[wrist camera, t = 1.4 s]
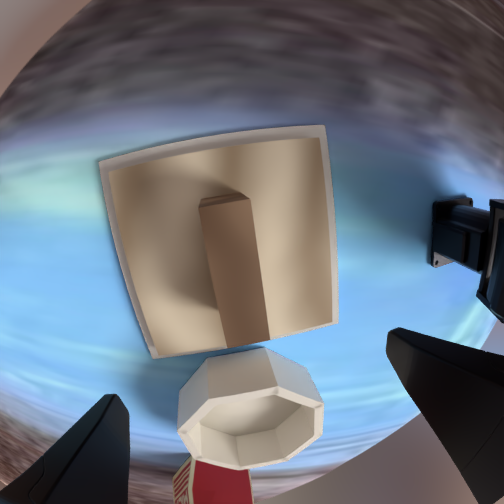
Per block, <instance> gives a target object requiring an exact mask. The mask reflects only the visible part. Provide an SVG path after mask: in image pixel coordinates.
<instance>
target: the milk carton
mask: <svg viewBox="0 0 504 504" xmlns="http://www.w3.org/2000/svg"><path fill="white" fill-rule="evenodd" d="M172 483H173V498H174V504H254V498H253V490H252V483H251V477H250V470H249V469H244V470H234V469H230V468H225V467H221V466H217V465H213V464H209V463H206V462H202V461H199V460H195V459H194V458H193V457H192V455H191V456H190V457H189V458H188V459H187V460H186V461H185V463H184V464H183V465H182V466H181V467H180V469H179V470H178V471H177V473H176V474H175V475H174V477H173V478H172Z"/></svg>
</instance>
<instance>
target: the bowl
mask: <svg viewBox="0 0 504 504" xmlns="http://www.w3.org/2000/svg"><path fill="white" fill-rule="evenodd" d="M323 413H324V402H323V400H322V398H321V396H320V394H319V392H318V390H317V388H316V386H315V384H314V382H313V380H312V378H311V376H310V374H309V372H308V370H307V368H306V367H304V366H302V365H300V364H298V363H296V362H294V361H292V360H290V359H288V358H286V357H284V356H282V355H279V354H277V353H275V352H273V351H272V350H270V349H268V348H266V347H263V348H258V349H253V350H248V351H243V352H238V353H232V354H227V355H221V356H215V357H209V358H207V359H206V360H205V361H204V362H203V363H202V365H201V366H200V367H199V368H198V369H197V371H196V372H195V373H194V374H193V375H192V377H191V378H190V379H189V380H188V381H187V383H186V384H185V385H184V386H183V387H182V388H181V390H180V391H179V403H178V419H177V432H178V434H179V435H180V437H181V439H182V440H183V442H184V444H185V445H186V447H187V449H188V450H189V452H190V453H191V455H192V457H193V458H194V459H195V460H199V461H202V462H206V463H209V464H213V465H217V466H221V467H225V468H230V469H234V470H244V469H250V468H256V467H261V466H267V465H272V464H276V463H281V462H285V461H288V460H289V459H291V458H292V457H294V456H295V455H296V454H298V453H299V452H301V451H302V450H303V449H305V448H306V447H307V446H309V445H310V444H311V443H313V442H314V441H315V440H316V439H318V438H319V437H320V436H321V435H322V431H323Z"/></svg>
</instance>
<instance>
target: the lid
mask: <svg viewBox="0 0 504 504" xmlns="http://www.w3.org/2000/svg"><path fill="white" fill-rule="evenodd" d="M108 173H109V180H110V185H111V191H112V196H113V202H114V207H115V211H116V216H117V221H118V225H119V230H120V234H121V238H122V242H123V246H124V250H125V254H126V258H127V262H128V265H129V269H130V272H131V276H132V279H133V283H134V286H135V289H136V293H137V296H138V299H139V302H140V305H141V308H142V311H143V314H144V317H145V320H146V323H147V326H148V328H149V331H150V334H151V337H152V339H153V342H154V345H155V347H156V350H157V352H158V355H159V356H160V355H168V354H176V353H183V352H190V351H197V350H203V349H210V348H216V347H221V346H227V348H232V347H237V346H243V345H248V344H253V343H258V342H263V341H267V340H270V337H273V336H277V335H282V334H286V333H291V332H295V331H299V330H303V329H307V328H311V327H315V326H319V325H323V324H327V323H330V322H332V276H331V254H330V237H329V222H328V210H327V199H326V189H325V179H324V170H323V162H322V154H321V146H320V139H319V137H318V138H302V139H289V140H278V141H268V142H259V143H251V144H243V145H236V146H229V147H222V148H216V149H210V150H204V151H198V152H193V153H188V154H182V155H177V156H172V157H168V158H163V159H158V160H154V161H150V162H145V163H141V164H137V165H133V166H129V167H125V168H122V169H118V170H114V171H111V172H108Z"/></svg>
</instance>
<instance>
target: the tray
mask: <svg viewBox="0 0 504 504" xmlns="http://www.w3.org/2000/svg"><path fill="white" fill-rule="evenodd" d="M318 137H319V139H320V146H321V154H322V162H323V170H324V179H325V189H326V199H327V210H328V222H329V237H330V254H331V276H332V322H330V323H327V324H323V325H319V326H315V327H311V328H307V329H303V330H299V331H295V332H291V333H286V334H282V335H277V336H273V337H270V340H272V339H277V338H281V337H286V336H290V335H294V334H298V333H303V332H307V331H311V330H315V329H318V328H322V327H326V326H330V325H333V324H337V323H338V316H339V300H338V258H337V237H336V222H335V208H334V197H333V186H332V176H331V167H330V159H329V151H328V143H327V136H326V129H325V125H308V126H291V127H278V128H267V129H257V130H249V131H240V132H233V133H226V134H219V135H213V136H207V137H201V138H195V139H190V140H184V141H179V142H174V143H169V144H165V145H160V146H156V147H151V148H147V149H143V150H139V151H135V152H131V153H127V154H124V155H120V156H116V157H113V158H109V159H106V160H103V161H99V168H100V175H101V181H102V187H103V192H104V198H105V203H106V208H107V212H108V217H109V222H110V226H111V230H112V235H113V239H114V243H115V247H116V251H117V254H118V258H119V262H120V265H121V269H122V272H123V276H124V279H125V282H126V286H127V289H128V292H129V295H130V298H131V301H132V304H133V307H134V310H135V313H136V316H137V319H138V322H139V325H140V327H141V330H142V333H143V335H144V338H145V341H146V343H147V346H148V348H149V351H150V353H151V356H152V358H153V359H158V358H166V357H174V356H182V355H189V354H196V353H202V352H209V351H215V350H221V349H227V346H221V347H216V348H210V349H203V350H197V351H190V352H183V353H176V354H168V355H160V356H159V355H158V352H157V350H156V347H155V345H154V342H153V339H152V337H151V334H150V331H149V328H148V326H147V323H146V320H145V317H144V314H143V311H142V308H141V305H140V302H139V299H138V296H137V293H136V289H135V286H134V283H133V279H132V276H131V272H130V269H129V265H128V262H127V258H126V254H125V250H124V246H123V242H122V238H121V234H120V230H119V225H118V221H117V216H116V211H115V207H114V202H113V196H112V191H111V185H110V180H109V173H108V172H111V171H114V170H118V169H122V168H125V167H129V166H133V165H137V164H141V163H145V162H150V161H154V160H158V159H163V158H168V157H172V156H177V155H182V154H188V153H193V152H198V151H204V150H210V149H216V148H222V147H229V146H236V145H243V144H251V143H259V142H268V141H278V140H289V139H302V138H318ZM267 341H268V340H267ZM237 347H238V346H237Z"/></svg>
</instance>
